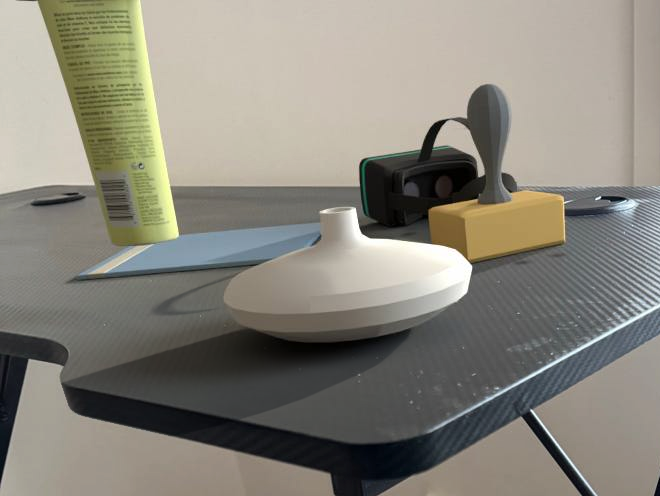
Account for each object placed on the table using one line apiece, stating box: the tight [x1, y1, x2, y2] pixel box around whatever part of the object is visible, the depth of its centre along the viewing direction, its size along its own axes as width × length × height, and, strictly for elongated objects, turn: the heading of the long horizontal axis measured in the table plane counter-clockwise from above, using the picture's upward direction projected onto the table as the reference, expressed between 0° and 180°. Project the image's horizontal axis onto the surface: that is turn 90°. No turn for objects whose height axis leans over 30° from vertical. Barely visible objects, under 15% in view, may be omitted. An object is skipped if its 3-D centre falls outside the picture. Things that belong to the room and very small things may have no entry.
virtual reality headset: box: [358, 116, 518, 227], centre depth 89 cm, size 11×17×10 cm, turn 31°
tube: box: [36, 0, 180, 247], centre depth 64 cm, size 6×5×20 cm
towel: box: [76, 221, 322, 281], centre depth 90 cm, size 20×18×1 cm
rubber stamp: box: [428, 83, 566, 264], centre depth 74 cm, size 10×6×12 cm, turn 120°
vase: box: [222, 206, 473, 343], centre depth 58 cm, size 16×16×7 cm
